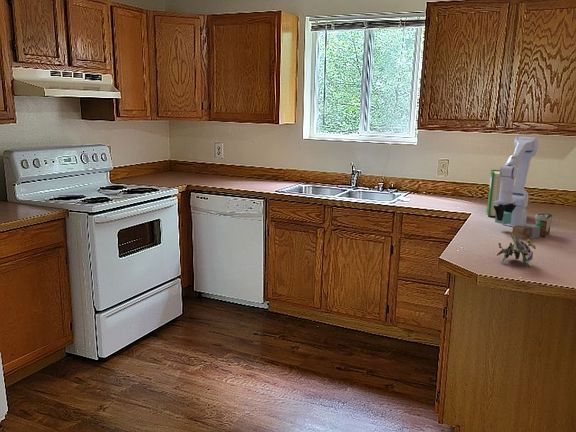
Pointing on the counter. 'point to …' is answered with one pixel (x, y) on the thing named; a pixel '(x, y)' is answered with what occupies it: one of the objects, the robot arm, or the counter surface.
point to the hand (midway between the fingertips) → (503, 219)
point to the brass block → (521, 232)
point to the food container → (543, 223)
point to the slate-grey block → (534, 231)
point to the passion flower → (519, 250)
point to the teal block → (505, 218)
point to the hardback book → (493, 191)
